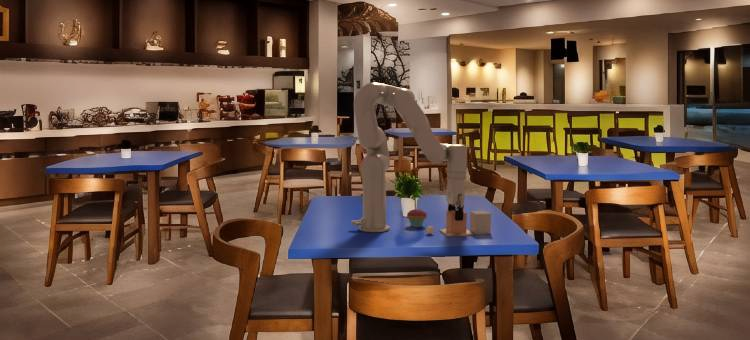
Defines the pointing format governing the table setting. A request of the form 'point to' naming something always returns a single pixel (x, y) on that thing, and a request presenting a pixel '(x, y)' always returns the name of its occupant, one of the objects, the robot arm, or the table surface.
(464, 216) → the peach colored cube
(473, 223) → the beige block
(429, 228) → the cream marble
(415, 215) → the cupcake
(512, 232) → the table surface
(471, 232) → the birch board
